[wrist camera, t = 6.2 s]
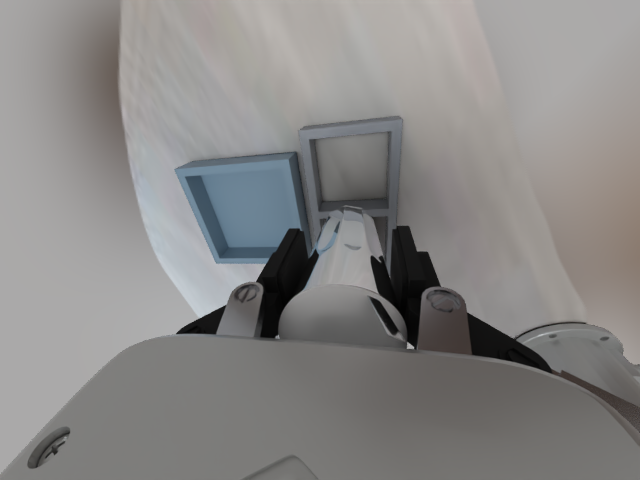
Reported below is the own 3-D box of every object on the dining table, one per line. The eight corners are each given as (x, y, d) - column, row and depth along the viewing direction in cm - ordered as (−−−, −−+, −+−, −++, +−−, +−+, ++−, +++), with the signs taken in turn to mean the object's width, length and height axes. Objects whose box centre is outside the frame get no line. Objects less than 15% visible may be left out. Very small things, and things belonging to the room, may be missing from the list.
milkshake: (408, 203, 14) (483, 376, 5) (362, 266, 17) (365, 441, 8) (339, 169, 13) (304, 299, 5) (304, 239, 16) (244, 397, 8)
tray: (296, 151, 24) (288, 159, 21) (312, 248, 30) (307, 263, 28) (192, 161, 26) (174, 169, 24) (227, 249, 32) (216, 263, 30)
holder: (398, 115, 21) (402, 119, 19) (391, 262, 29) (393, 275, 27) (304, 126, 22) (298, 130, 20) (323, 262, 31) (320, 275, 29)
